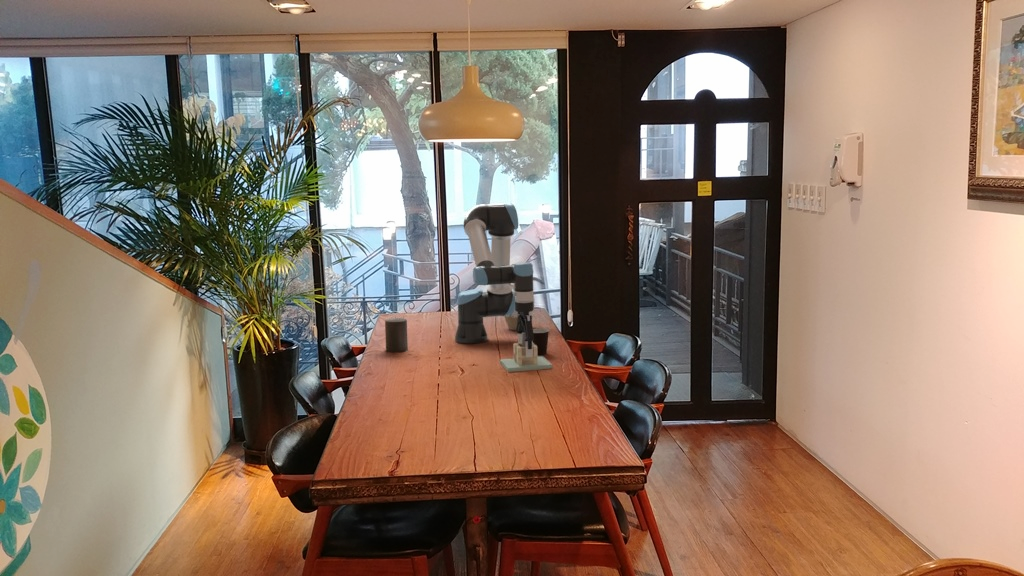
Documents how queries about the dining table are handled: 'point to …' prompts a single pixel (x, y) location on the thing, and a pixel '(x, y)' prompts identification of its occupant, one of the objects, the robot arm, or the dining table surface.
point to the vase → (514, 316)
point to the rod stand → (513, 366)
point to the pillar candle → (396, 334)
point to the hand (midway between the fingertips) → (525, 353)
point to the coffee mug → (541, 340)
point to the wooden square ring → (524, 355)
